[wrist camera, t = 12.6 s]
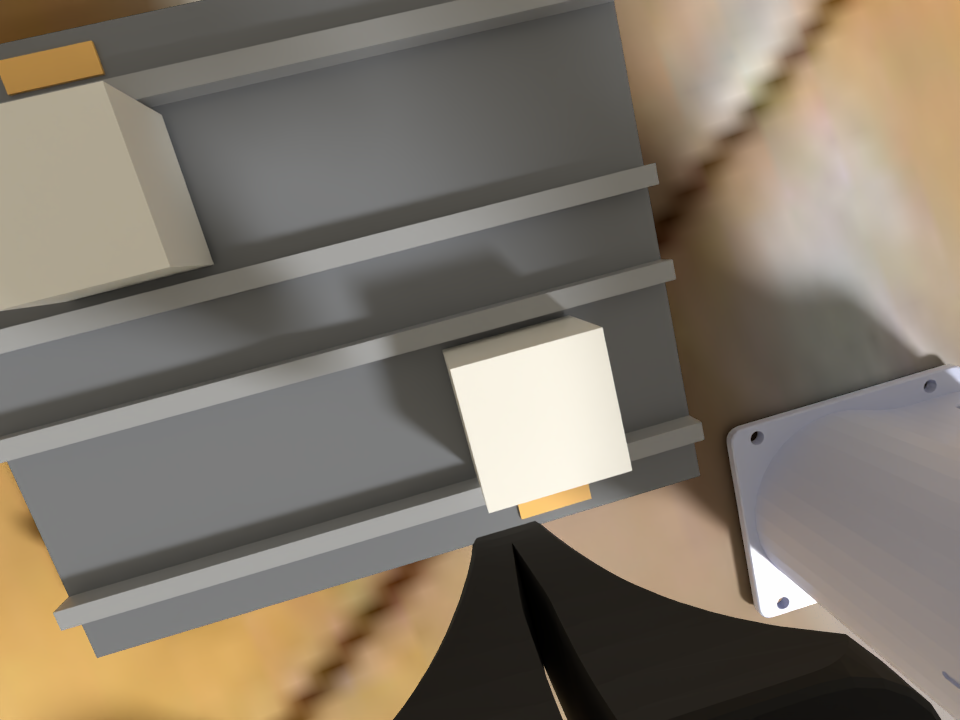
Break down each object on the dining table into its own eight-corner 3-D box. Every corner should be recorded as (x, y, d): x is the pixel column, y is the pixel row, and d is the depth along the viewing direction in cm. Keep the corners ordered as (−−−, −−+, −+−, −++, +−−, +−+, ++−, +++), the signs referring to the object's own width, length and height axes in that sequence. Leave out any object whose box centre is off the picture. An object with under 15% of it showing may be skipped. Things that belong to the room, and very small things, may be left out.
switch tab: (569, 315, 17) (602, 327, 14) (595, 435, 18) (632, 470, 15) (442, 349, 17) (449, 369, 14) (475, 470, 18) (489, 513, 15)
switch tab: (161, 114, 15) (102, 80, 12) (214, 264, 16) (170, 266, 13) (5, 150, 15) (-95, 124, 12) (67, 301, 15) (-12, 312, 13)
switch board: (576, -48, 18) (608, -104, 15) (672, 455, 21) (713, 485, 18) (-98, 101, 16) (-202, 69, 13) (127, 617, 20) (82, 676, 17)
